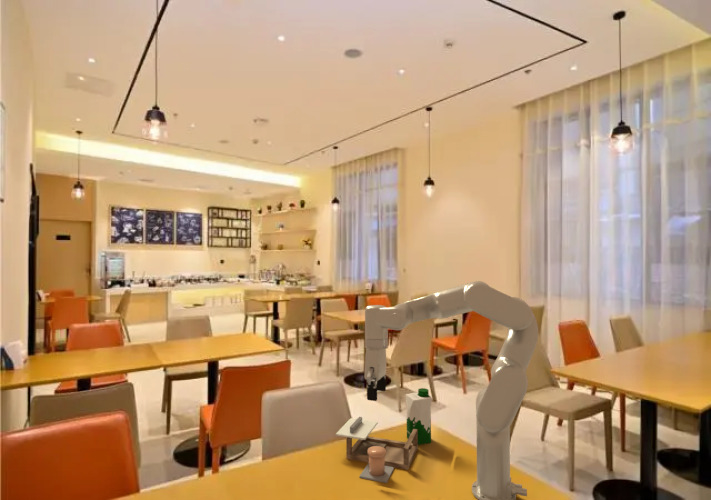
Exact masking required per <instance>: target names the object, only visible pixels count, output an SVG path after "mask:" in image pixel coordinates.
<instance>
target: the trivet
mask: <svg viewBox="0 0 711 500" xmlns="http://www.w3.org/2000/svg"><path fill="white" fill-rule="evenodd" d="M394 469H395V467H390V466H385V473H384V475H382V476H373V475H371V474H370V473H369V463H368V462H367V464H366V466H365V467H364V469H363V471H362V472H361V473H360V475H359V478H360V479H364V480H370V481H375V482H380V483H384V484H387V483H388V481H389V479H390V478H391V476H392V474H393V471H394Z"/></svg>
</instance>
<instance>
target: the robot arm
mask: <svg viewBox="0 0 711 500" xmlns="http://www.w3.org/2000/svg"><path fill="white" fill-rule="evenodd" d="M470 312H474V313H477V314H478V315H480V316H482V317H484V318H486V319H488V320H490V321H493V322H495V323H497V324H499V325H501V326H503V327H504V328H507V334H506V337H505V339H504V342H503V345H502V347H501V348H500V351H499V353H498V356H497V358H496V359H495V360H494V363H493V365H492V366H491V371H490V373H491V374H490V375H491V378H490V381H489V382H488V385H487V386H485V387H483V388H482V389H481V390H479V392H478V393H477V396H476V398H475V413H476V414H475V419H476V421H475V422H476V480H475V481H474V482H473V483H472V484H471V492H472V494H473V496H474V497H475V498H476V499H477V500H516V499H517V495H520V496H523V497H528V491H527V490H528V489H527V488H524V487H523V485H522V484H520V483H514V482H513V481H512V477H511V453H510V452H511V451H510V450H511V447H510V446H511V443H510V442H511V439H510V438H511V436H510V435H511V434H510V433H511V431H510V426H511V425H512V423H513V421H514V419H515V417H516V415H517V413H518V411H519V409H520V407H521V404H522V402H523V400H524V398H525V396H526V393H527V390H528V386H529V379H528V376H527V369H528V367H529V365H530V362H531V360H532V357H533V356H534V353H535V351H536V348H537V346H538V340H539V326H538V321H537V318H536V316H535V314H534V313H533V310H532V307H530V305H529V304H528V303H527V302H526V301H525V300H524V299H522V298H519V297H516V296H515V297H513V296H510V295H508V294H506V293H504V292H502V291H499V290H497V289H496V288H493V286H490V285H489V284H488V283H486V282H485V281H481V280H476V281H471V282H469V283H465V284H461V285H457V286H454V287H451V288H450V287H449V288H447V289H443V290H440V291H437V292H434V293H431V294H429V295H425V296H422V297H419V298H415V299H411V300H408V301H404V302H402V303H398V304H396V305H394V306H389V307H387V306H385V305H381V304H371V305H367V306H366V307H365V310H364V341H365V342H364V348H365V358H364V377H363V378H364V380H366V400H367V401H372V402H373V401H374V402H377V401H378V392H386V391H387V387H386V386H387V382H386V381H387V380H386V378H387V375H386V374H387V349H388V348H389V340H388V339H389V337H388V336H389V330H394V331H402V330H405V329H406V328H407V327H408V326H409V325H410V324H414V323H417V322H420V321H425V320H429V319H439V320H442V319H448V318H451V317H455V316H458V315H462V314H463V315H464V314H465V313H470Z"/></svg>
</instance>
